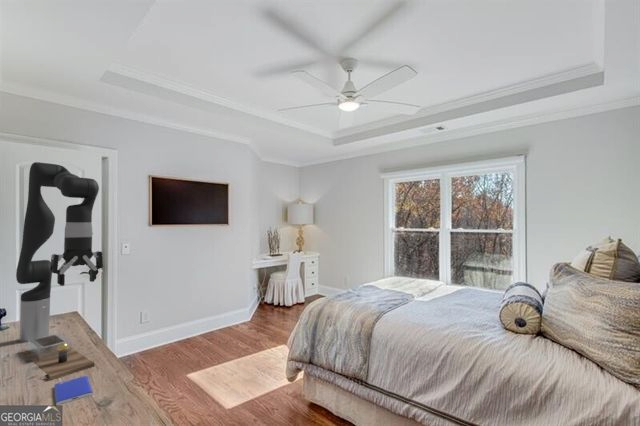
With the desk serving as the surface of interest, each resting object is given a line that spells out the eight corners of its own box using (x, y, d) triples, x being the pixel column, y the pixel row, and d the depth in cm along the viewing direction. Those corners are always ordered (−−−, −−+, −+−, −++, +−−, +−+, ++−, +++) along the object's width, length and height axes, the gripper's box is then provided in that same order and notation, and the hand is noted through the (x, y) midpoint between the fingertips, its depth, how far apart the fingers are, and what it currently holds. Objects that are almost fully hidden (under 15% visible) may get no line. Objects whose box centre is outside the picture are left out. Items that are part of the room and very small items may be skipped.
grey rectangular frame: (27, 350, 119) (28, 340, 119) (57, 343, 126) (58, 333, 127) (39, 360, 111) (39, 348, 111) (70, 351, 118) (70, 341, 118)
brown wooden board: (21, 355, 118) (22, 351, 118) (61, 344, 128) (61, 341, 128) (50, 380, 100) (50, 376, 100) (94, 366, 110) (94, 362, 110)
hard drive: (54, 383, 96) (56, 401, 87) (87, 375, 101) (92, 390, 92) (54, 389, 96) (56, 407, 87) (87, 380, 101) (92, 396, 92)
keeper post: (55, 361, 110) (55, 343, 110) (66, 358, 113) (67, 340, 113) (58, 364, 108) (59, 345, 108) (70, 360, 111) (70, 342, 111)
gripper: (97, 234, 116) (96, 279, 116) (48, 236, 104) (46, 285, 104) (106, 235, 112) (105, 281, 111) (56, 237, 100) (54, 288, 100)
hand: (77, 283), depth 108 cm, fingers open, 8 cm apart
